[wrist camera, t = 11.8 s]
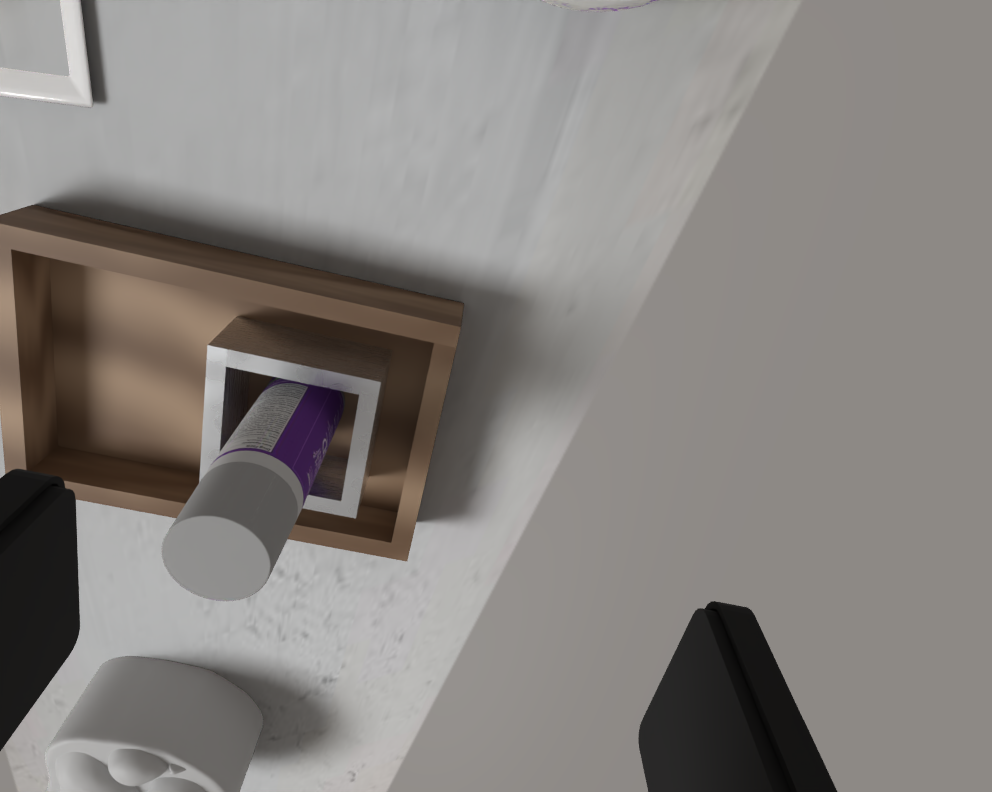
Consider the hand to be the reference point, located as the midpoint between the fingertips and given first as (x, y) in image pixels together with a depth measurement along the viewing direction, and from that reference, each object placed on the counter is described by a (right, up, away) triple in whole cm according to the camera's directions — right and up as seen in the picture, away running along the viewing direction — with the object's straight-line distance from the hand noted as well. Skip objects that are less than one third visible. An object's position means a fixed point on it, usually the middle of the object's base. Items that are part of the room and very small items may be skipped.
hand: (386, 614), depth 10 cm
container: (-10, +3, +31) cm, 33 cm away
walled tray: (-14, +4, +32) cm, 35 cm away
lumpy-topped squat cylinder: (-23, -22, +44) cm, 55 cm away
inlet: (-10, +3, +32) cm, 34 cm away
